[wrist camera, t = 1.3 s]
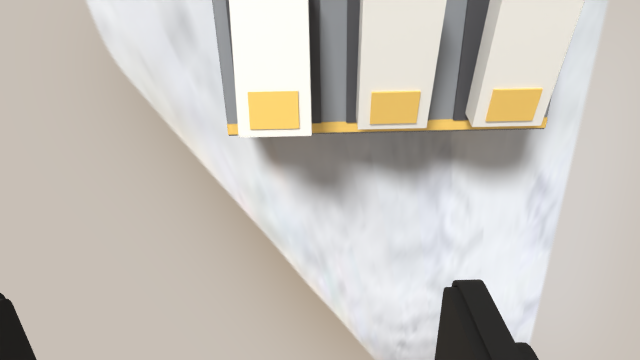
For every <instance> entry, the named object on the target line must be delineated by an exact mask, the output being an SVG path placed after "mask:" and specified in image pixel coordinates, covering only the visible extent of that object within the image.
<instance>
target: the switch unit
mask: <svg viewBox="0 0 640 360" xmlns="http://www.w3.org/2000/svg"><path fill="white" fill-rule="evenodd" d="M489 2H490V0H447V1H446V8H445V14H444V20H443V27H442V33H441V39H440V46H439V52H438V58H437V64H436V71H435V77H434V83H433V90H432V96H431V102H430V109H429V115H428V121H427V127H426V128H405V129H359V130H358V127H357V120H356V98H357V72H358V46H359V20H360V0H309V34H310V72H311V110H312V134H327V133H374V132H420V131H467V130H513V129H544V128H545V127H546V122H547V114H548V109H549V105H550V101H551V98H550V101H549V104H548V107H547V110H546V113H545V115H544V118H543V121H542V124H541V126H498V127H472V126H471V124H470V122H469V120H468V118H467V116H466V114H465V112H466V107H467V103H468V98H469V94H470V89H471V84H472V80H473V75H474V71H475V66H476V62H477V57H478V52H479V48H480V43H481V39H482V34H483V30H484V25H485V20H486V16H487V11H488V7H489ZM212 3H213V11H214V19H215V27H216V36H217V44H218V52H219V60H220V68H221V76H222V84H223V92H224V100H225V109H226V117H227V128H228V135H229V136H235V135H238V121H237V107H236V93H235V78H234V64H233V50H232V36H231V22H230V8H229V0H212ZM551 96H552V95H551Z"/></svg>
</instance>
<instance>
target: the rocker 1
mask: <svg viewBox="0 0 640 360" xmlns="http://www.w3.org/2000/svg"><path fill="white" fill-rule="evenodd" d="M229 8H230V22H231V36H232V50H233V64H234V78H235V93H236V107H237V121H238V135H239V137H280V136H312V110H311V72H310V34H309V0H229Z"/></svg>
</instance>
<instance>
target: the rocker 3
mask: <svg viewBox="0 0 640 360" xmlns="http://www.w3.org/2000/svg"><path fill="white" fill-rule="evenodd" d="M584 1H585V0H490V2H489V7H488V11H487V16H486V20H485V25H484V30H483V34H482V39H481V43H480V48H479V52H478V57H477V62H476V66H475V71H474V75H473V80H472V84H471V89H470V94H469V98H468V103H467V107H466V112H465V114H466V116H467V118H468V120H469V122H470V124H471V126H472V127H498V126H541V124H542V121H543V118H544V115H545V113H546V110H547V107H548V104H549V101H550V98H551V95H552V93H553V90H554V87H555V84H556V81H557V78H558V76H559V73H560V70H561V67H562V64H563V61H564V58H565V56H566V53H567V50H568V47H569V44H570V41H571V39H572V36H573V33H574V30H575V27H576V24H577V21H578V19H579V16H580V13H581V10H582V7H583V4H584Z"/></svg>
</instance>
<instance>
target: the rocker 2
mask: <svg viewBox="0 0 640 360" xmlns="http://www.w3.org/2000/svg"><path fill="white" fill-rule="evenodd" d="M446 1H447V0H360V20H359V46H358V72H357V98H356V120H357V127H358V130H359V129H405V128H426V127H427V121H428V115H429V109H430V102H431V96H432V90H433V83H434V77H435V71H436V64H437V58H438V52H439V46H440V39H441V33H442V27H443V20H444V14H445V8H446Z"/></svg>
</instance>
